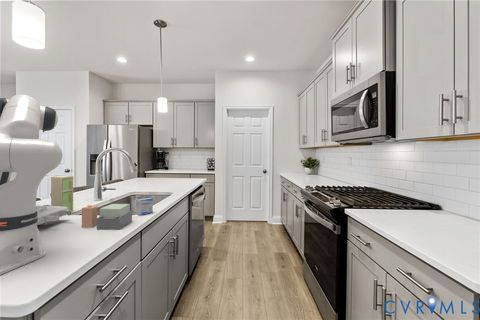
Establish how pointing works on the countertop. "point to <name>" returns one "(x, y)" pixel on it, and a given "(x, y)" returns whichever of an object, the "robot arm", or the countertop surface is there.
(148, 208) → the medicine box
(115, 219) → the green-topped grey pedestal
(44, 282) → the countertop surface
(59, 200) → the toy refrigerator
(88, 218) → the orange knobbed block
